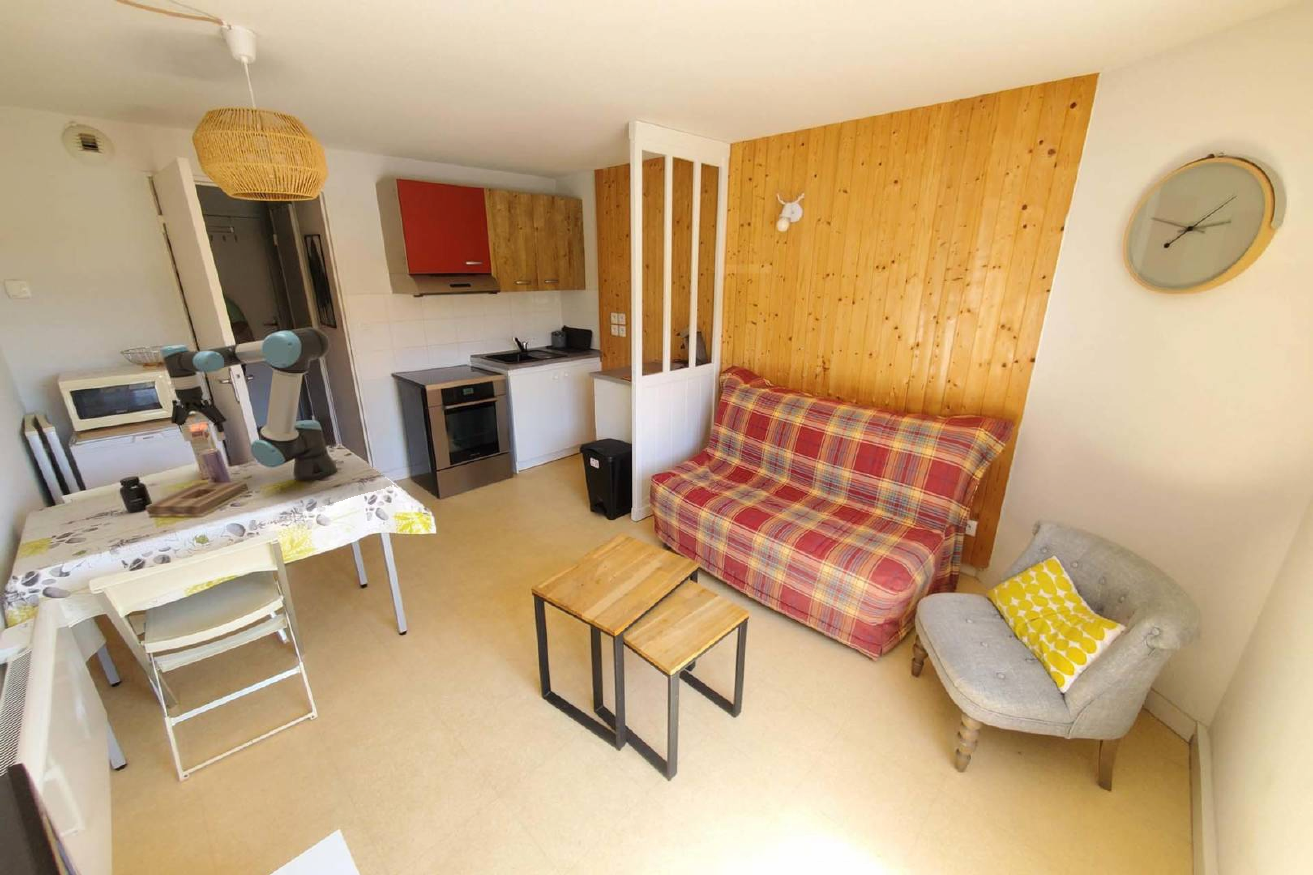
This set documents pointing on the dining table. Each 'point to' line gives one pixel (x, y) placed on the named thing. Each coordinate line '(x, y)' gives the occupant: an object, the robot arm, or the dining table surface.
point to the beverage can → (215, 466)
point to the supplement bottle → (134, 494)
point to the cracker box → (201, 443)
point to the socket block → (197, 500)
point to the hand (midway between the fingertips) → (205, 440)
